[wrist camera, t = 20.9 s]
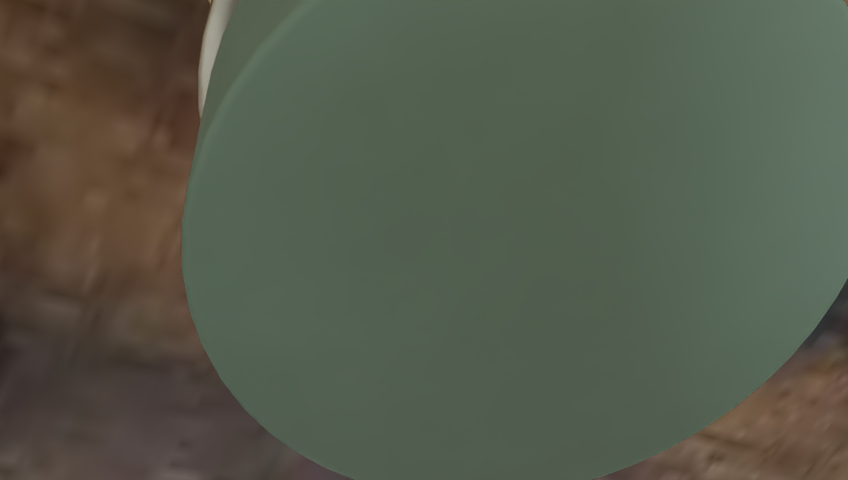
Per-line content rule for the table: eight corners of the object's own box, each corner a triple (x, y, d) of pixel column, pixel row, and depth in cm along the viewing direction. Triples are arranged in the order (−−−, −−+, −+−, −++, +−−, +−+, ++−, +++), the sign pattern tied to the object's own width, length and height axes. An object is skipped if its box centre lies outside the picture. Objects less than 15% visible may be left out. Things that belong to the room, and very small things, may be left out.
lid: (802, -177, 7) (1005, -145, 5) (697, 318, 11) (794, 455, 9) (142, -138, 7) (78, -81, 5) (255, 377, 10) (248, 541, 8)
